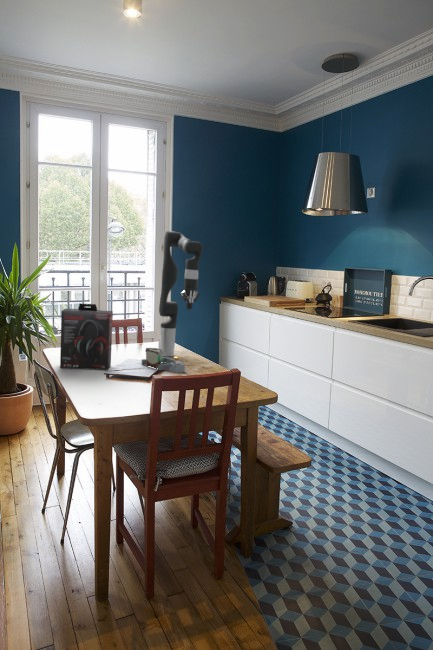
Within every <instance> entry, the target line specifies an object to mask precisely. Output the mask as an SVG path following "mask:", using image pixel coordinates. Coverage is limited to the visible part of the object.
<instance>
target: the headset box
mask: <svg viewBox="0 0 433 650" xmlns="http://www.w3.org/2000/svg"><path fill="white" fill-rule="evenodd" d="M113 317H114V315H113V310H98V307H97V304H96V303H95V304H94V303H79V305H78V308H64V309H62V310H61V316H60V318H61V321H60V354H59V355H60V359H59V362H60V363H59V368H61V369H79V370H80V369H81V370H101V371H102V370H103V371H104V370H105V371H107V370H109V368H110V367H111V366H112V365H111V364H112V345H113V344H112V343H113V342H112V340H113V339H112V338H113Z"/></svg>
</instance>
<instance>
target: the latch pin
mask: <svg viewBox="0 0 433 650" xmlns="http://www.w3.org/2000/svg"><path fill="white" fill-rule="evenodd" d="M172 357H173V358H172V359H173V360H175V361H174V364H175V365H179V364H180V362H181V360H182V356H178V355H174V356H172Z"/></svg>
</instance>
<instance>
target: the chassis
mask: <svg viewBox="0 0 433 650" xmlns="http://www.w3.org/2000/svg"><path fill="white" fill-rule="evenodd" d="M174 361H175V359H173V358H169V357H167V356H162V361H161V362H166V363H161V364H160V365H158V370H157V371H167V370H168V372H170V373H176V374H177V373H185V369H186V364H184V361H180V364H179V365H175V364H174ZM142 364H146V358H145V359H143V358H142V359H141V365H142Z"/></svg>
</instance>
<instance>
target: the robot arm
mask: <svg viewBox="0 0 433 650" xmlns="http://www.w3.org/2000/svg"><path fill="white" fill-rule="evenodd" d="M162 244H163V261H162V269H161V270H162V271H161V272H162V273H161V289H160V290H161V291H160V298H159V299H160V300H159V304H158V306H159V307H158V314H159V315H160V317H165V318H166V317H167V318H168V319H167V320H165V321H162V322H161V323H160V331H159V332H160V334H159V335H160V336H159V339H158V349H162V350H163V353H164V354H163V355H162V357H174V356H175V345H176V330H177V321H178V313H179V306H178V302H176V301H168V297H169V294H170V292H171V291H172V289H173V288H174V286H175V285H176V284H177V281H178V272H179V271H178V267H177V264H176V263H175V260H174V259H173V257H172V254H171V248H179V249H180V250H182V251H183V252H184V253H185V254H188V255H194V256H193V257H192V258H186V260H185V271H184V278H183V279H184V280H183V286H184V288H183V291H180V293H179V294H180V295H181V297H182V300H183V301H184V302H186V309H187V310H188V311H190V310H192V309H193V303H194V302H196V301H197V300H198V298H199V297H200V295H201V293H200V292H198V288H197V287H198V286H199V266H200V265H199V263H200V260H201V258H202V257H201V256H202V254H203V252H204V245H203V243H202V242H200V241H193V240H192V239H190V238H187V237H185V235H184V234H183V233H181V232H180V231H172V230H171V231H170V230H167V231H165V232H164V234H163V243H162Z"/></svg>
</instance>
